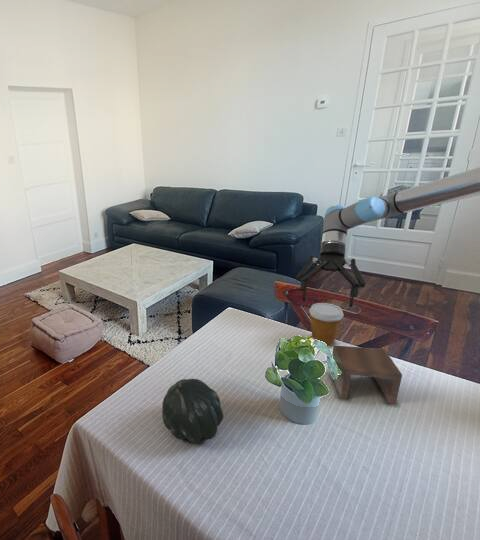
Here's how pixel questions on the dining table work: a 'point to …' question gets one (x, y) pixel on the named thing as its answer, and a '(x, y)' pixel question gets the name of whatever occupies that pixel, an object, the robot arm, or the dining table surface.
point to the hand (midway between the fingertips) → (326, 302)
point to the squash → (192, 410)
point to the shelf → (367, 369)
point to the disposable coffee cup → (325, 321)
